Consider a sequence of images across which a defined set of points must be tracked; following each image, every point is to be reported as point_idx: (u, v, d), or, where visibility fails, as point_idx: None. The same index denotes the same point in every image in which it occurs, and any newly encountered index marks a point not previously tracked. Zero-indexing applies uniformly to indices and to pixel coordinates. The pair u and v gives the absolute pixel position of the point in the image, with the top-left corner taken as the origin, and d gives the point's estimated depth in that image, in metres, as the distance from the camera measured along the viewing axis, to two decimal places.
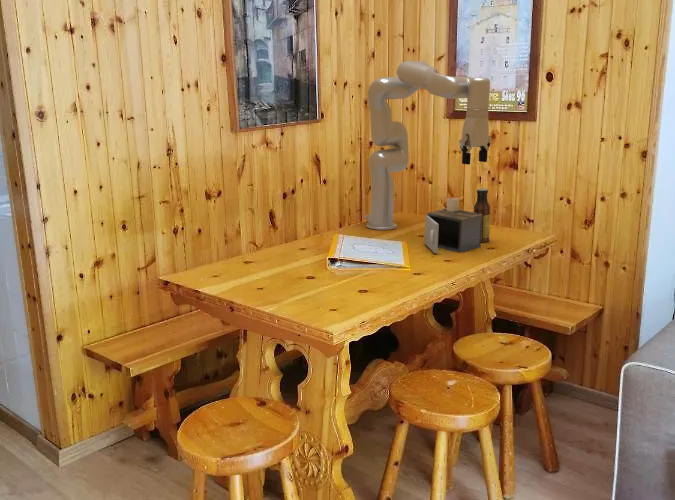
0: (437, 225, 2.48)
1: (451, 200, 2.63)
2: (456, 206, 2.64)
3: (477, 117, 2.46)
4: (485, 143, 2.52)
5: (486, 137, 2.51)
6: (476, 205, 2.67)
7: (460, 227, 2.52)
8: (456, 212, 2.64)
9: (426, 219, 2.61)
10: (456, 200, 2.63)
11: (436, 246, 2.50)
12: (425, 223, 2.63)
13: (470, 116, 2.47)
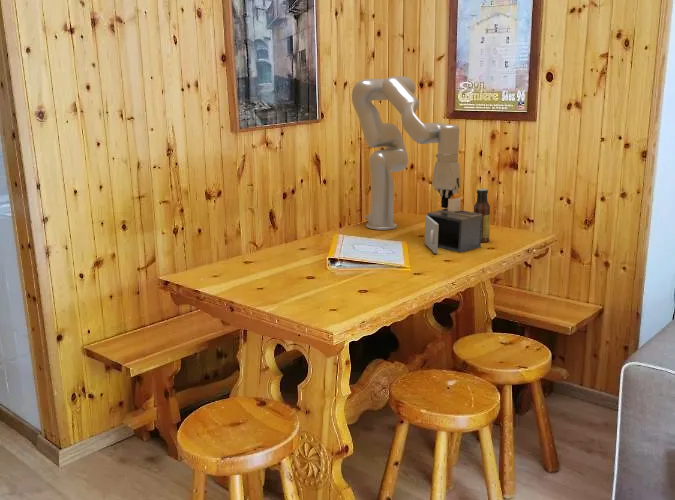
0: (437, 225, 2.48)
1: (452, 200, 2.62)
2: (457, 206, 2.64)
3: (457, 161, 2.63)
4: None
5: None
6: (476, 205, 2.67)
7: (460, 227, 2.52)
8: (456, 212, 2.64)
9: (426, 219, 2.61)
10: (457, 200, 2.63)
11: (436, 246, 2.50)
12: (425, 223, 2.63)
13: (455, 161, 2.61)
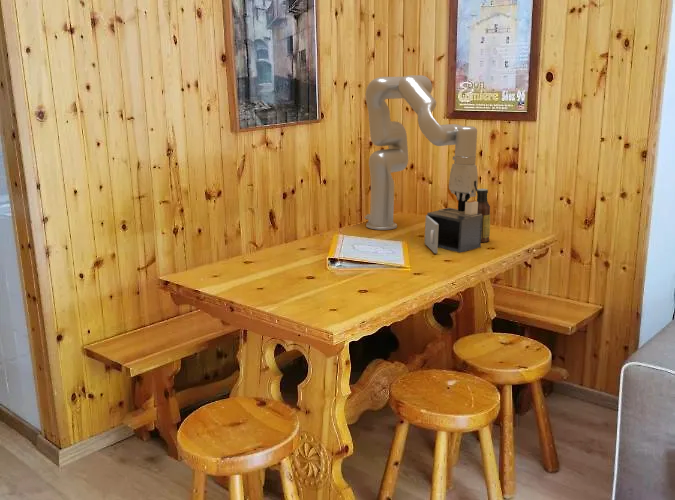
0: (437, 225, 2.48)
1: (470, 203, 2.57)
2: (475, 210, 2.58)
3: None
4: None
5: None
6: None
7: (460, 227, 2.52)
8: (456, 212, 2.64)
9: (426, 219, 2.61)
10: (475, 203, 2.57)
11: (436, 246, 2.50)
12: (425, 223, 2.63)
13: (473, 163, 2.55)
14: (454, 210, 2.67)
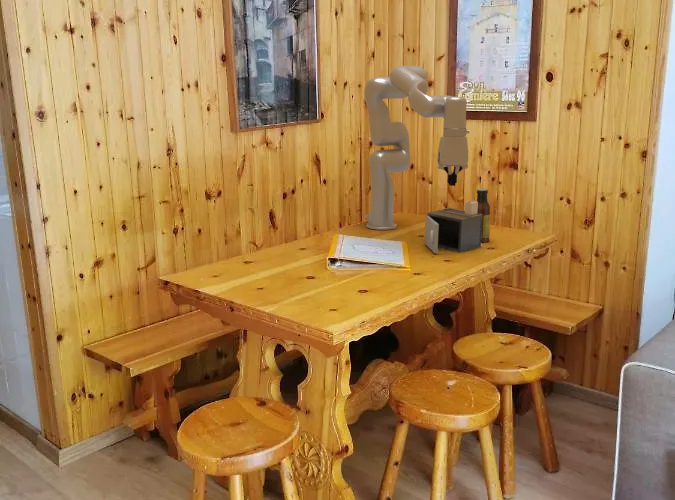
0: (437, 225, 2.48)
1: (470, 203, 2.57)
2: (475, 210, 2.58)
3: (447, 136, 2.46)
4: (462, 163, 2.49)
5: (463, 157, 2.48)
6: None
7: (460, 227, 2.52)
8: (456, 212, 2.64)
9: (426, 219, 2.61)
10: (475, 203, 2.57)
11: (436, 246, 2.50)
12: (425, 223, 2.63)
13: (443, 135, 2.48)
14: (454, 210, 2.67)
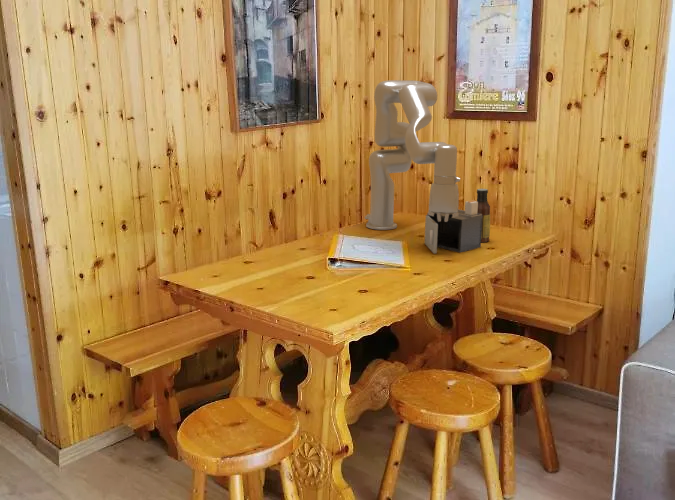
0: (436, 225, 2.48)
1: (470, 203, 2.57)
2: (475, 210, 2.58)
3: (435, 183, 2.46)
4: (451, 211, 2.47)
5: (452, 205, 2.47)
6: None
7: (460, 227, 2.52)
8: None
9: (426, 219, 2.61)
10: (475, 203, 2.57)
11: (435, 246, 2.50)
12: (425, 223, 2.63)
13: None
14: None
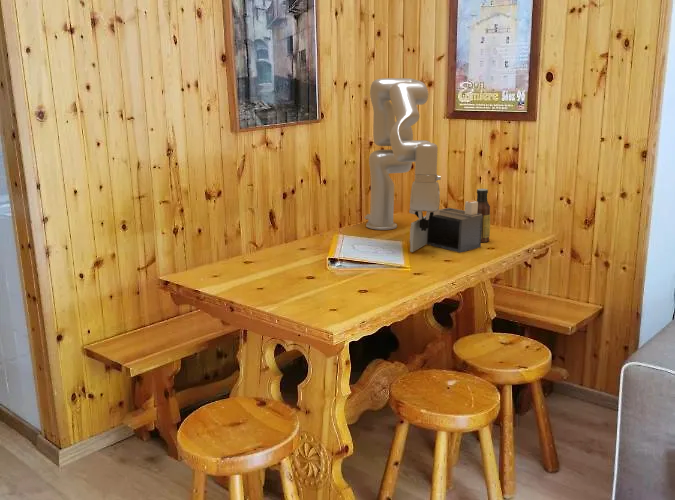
0: (412, 224, 2.50)
1: (470, 203, 2.57)
2: (475, 210, 2.58)
3: (416, 182, 2.47)
4: (432, 209, 2.48)
5: (433, 203, 2.48)
6: None
7: (460, 227, 2.52)
8: (456, 212, 2.64)
9: None
10: (475, 203, 2.57)
11: (411, 245, 2.52)
12: None
13: None
14: (454, 210, 2.67)
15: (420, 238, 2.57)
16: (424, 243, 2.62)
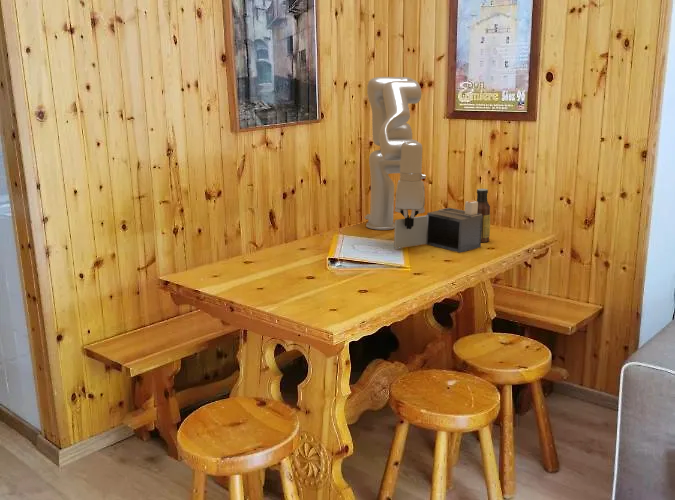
0: (395, 221, 2.55)
1: (470, 203, 2.57)
2: (475, 210, 2.58)
3: (401, 180, 2.49)
4: (417, 207, 2.51)
5: (418, 201, 2.50)
6: None
7: (460, 227, 2.52)
8: (456, 212, 2.64)
9: None
10: (475, 203, 2.57)
11: (395, 241, 2.57)
12: None
13: None
14: (454, 210, 2.67)
15: (411, 236, 2.60)
16: (420, 242, 2.63)
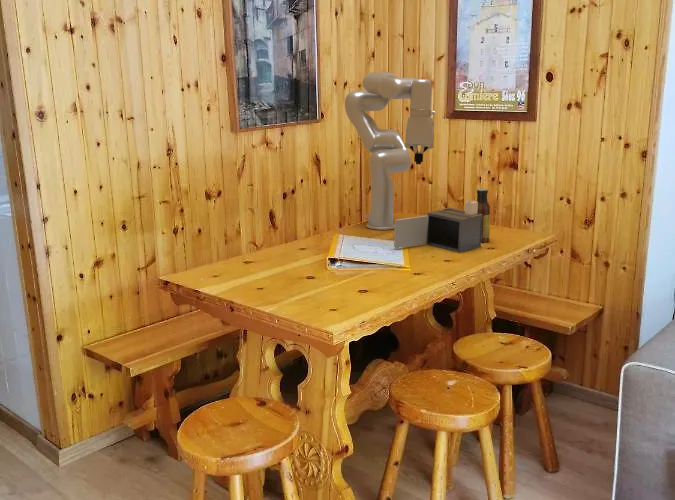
0: (395, 221, 2.55)
1: (470, 203, 2.57)
2: (475, 210, 2.58)
3: (411, 116, 2.59)
4: (426, 142, 2.60)
5: (427, 137, 2.59)
6: None
7: (460, 227, 2.52)
8: (456, 212, 2.64)
9: None
10: (475, 203, 2.57)
11: (395, 241, 2.57)
12: None
13: None
14: (454, 210, 2.67)
15: (411, 236, 2.60)
16: (420, 242, 2.63)
